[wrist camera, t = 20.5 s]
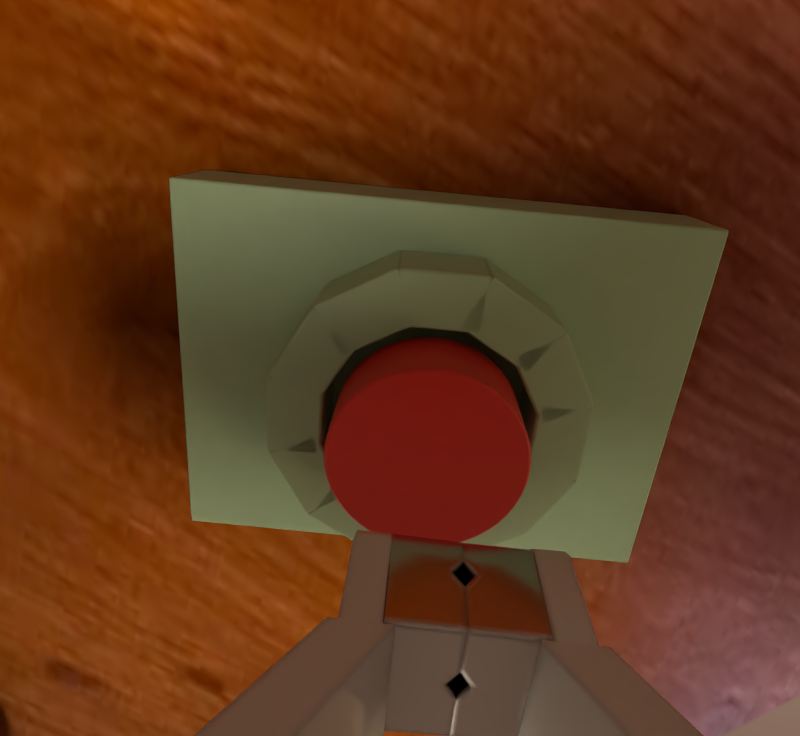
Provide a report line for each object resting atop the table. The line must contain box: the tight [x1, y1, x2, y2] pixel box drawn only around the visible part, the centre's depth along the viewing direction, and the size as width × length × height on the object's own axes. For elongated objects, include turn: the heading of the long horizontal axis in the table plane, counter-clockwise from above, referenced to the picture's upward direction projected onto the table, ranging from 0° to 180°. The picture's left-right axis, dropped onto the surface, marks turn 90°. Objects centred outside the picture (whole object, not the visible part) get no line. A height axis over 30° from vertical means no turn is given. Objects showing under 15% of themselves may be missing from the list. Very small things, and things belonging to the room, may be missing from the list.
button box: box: [169, 170, 728, 562], centre depth 14 cm, size 12×9×4 cm
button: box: [324, 337, 531, 542], centre depth 12 cm, size 4×4×2 cm
